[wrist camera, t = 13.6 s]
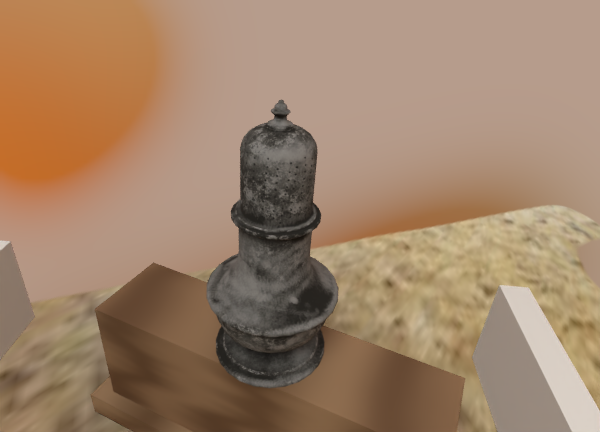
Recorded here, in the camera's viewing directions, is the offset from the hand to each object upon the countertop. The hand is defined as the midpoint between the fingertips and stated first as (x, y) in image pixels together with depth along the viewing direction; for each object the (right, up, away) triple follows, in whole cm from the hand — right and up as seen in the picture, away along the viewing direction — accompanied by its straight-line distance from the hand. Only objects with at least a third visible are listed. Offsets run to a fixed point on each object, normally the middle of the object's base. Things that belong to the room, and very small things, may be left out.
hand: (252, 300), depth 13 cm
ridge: (-1, -11, +14) cm, 17 cm away
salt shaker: (0, -4, +10) cm, 10 cm away
